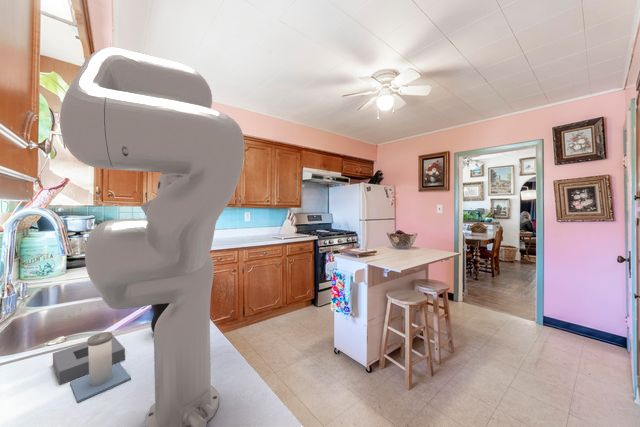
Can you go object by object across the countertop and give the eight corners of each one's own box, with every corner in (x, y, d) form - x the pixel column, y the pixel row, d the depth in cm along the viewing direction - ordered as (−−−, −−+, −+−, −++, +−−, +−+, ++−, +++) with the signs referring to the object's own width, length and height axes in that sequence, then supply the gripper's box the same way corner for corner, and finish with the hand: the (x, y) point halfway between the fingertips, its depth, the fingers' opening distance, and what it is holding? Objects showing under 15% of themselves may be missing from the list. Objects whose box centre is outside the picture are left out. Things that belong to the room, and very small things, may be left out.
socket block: (125, 359, 66) (124, 348, 66) (59, 385, 57) (59, 371, 57) (112, 344, 74) (112, 334, 73) (52, 364, 64) (52, 353, 64)
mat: (130, 379, 58) (130, 377, 58) (77, 403, 51) (77, 400, 51) (119, 364, 64) (119, 362, 64) (70, 384, 57) (70, 382, 57)
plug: (115, 378, 58) (114, 335, 58) (90, 388, 55) (89, 343, 54) (110, 371, 61) (109, 330, 60) (86, 380, 57) (85, 337, 57)
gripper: (146, 166, 58) (147, 240, 58) (217, 174, 71) (217, 234, 72) (135, 169, 62) (136, 238, 63) (203, 176, 76) (204, 232, 76)
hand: (180, 236), depth 67 cm, fingers open, 9 cm apart
